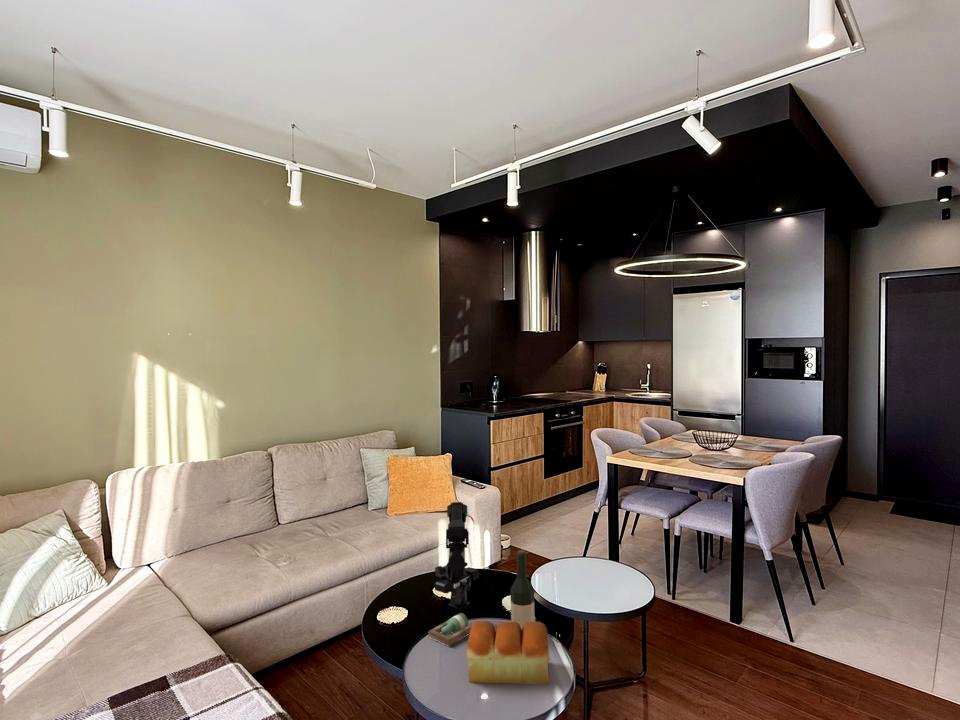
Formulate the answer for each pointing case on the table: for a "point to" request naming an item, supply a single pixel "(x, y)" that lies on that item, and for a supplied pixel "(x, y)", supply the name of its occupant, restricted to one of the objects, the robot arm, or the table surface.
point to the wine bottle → (522, 594)
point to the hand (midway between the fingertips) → (458, 603)
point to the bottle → (455, 624)
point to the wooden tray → (451, 639)
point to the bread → (508, 653)
